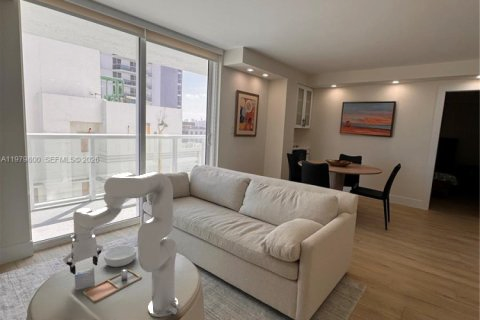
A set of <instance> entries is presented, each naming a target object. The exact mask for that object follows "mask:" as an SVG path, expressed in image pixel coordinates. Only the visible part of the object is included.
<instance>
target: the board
mask: <svg viewBox="0 0 480 320" xmlns="http://www.w3.org/2000/svg"><path fill="white" fill-rule="evenodd" d="M127 278H128V279H127V280H126V281H121V272H120V273H118V274H116V275H114V276H112V277H109V278H108V279H105V280H104V281H101V282H99V283H97V284H95V286H91V287H87V288H85V290H82V294H83V295H84V296H86V298H88V299H89V300H90V301H91V302H92V303H94V304H96V303H98V302H100V301H102V300H104V299H105V298H108V297H109V296H112V295H113V294H115V293H117V292H118V291H121V290H123V289H125V288H126V287H128V286H130V285H133V284H134V283H135V282H138V281H140V280H141V279H142V278H143V277H142V276H141V275H139V274H138V273H136V272H134V271H133V270H131V269H127Z"/></svg>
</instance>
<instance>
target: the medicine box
mask: <svg viewBox="0 0 480 320" xmlns="http://www.w3.org/2000/svg"><path fill="white" fill-rule="evenodd" d="M95 278H96V277H95V268H94V267H89V268H84V269H79V270H76V274H74V286H75V291H77V290H83V289H88V288H90V287H93V286H95V285H96V280H95Z"/></svg>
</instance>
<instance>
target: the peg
mask: <svg viewBox="0 0 480 320" xmlns="http://www.w3.org/2000/svg"><path fill="white" fill-rule="evenodd" d="M127 270H128V269H127V268H123V269H121V271H120V273H121V281H126V280H127V279H128V278H127Z"/></svg>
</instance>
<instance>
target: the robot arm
mask: <svg viewBox="0 0 480 320" xmlns="http://www.w3.org/2000/svg"><path fill="white" fill-rule="evenodd" d="M103 190H104V194H103V201H104V203H105V204H106V206H104V207H103V208H100V209H97V210H95V211H93V210H92V209H91V208H89V207H88V208H85V207H83V208H78V209H76V210H75V211H74V212H73V218H72V219H73V234H72V235H71V236H70V239H71V240H72V241H71V247H70V253H69V254H68V255H66V256H65V257H63V259H62V261H63V262H64V263H65V265H67V266H69V272H70V273H72V275H75V274H76V271H77V270H76V269H77V268H76V264H77V263H79V262H82V261H85V260H87V259H91V258H92V264H93V265H94V266H98V263H99V257H100V254H101V253H102V251H103V248H104V245H99V244H98V243H97V239H96V238H97V237H96V235H95V234H94V230H96V229H98V228H101V227H102V226H104V225H107V224H109V223H111V222H113V221H114V220H115V219H116V218H117V217H118V216H119V215H120V214H121V212H122V210H123V206H124V205H123V204H124V203H125V202H126V201H127V199H141V198H144V197H147V196H149V195H151V194H154V195H153V199H152V201H151V216H150V218H149V219H148V220H146V221H145V222H143V223H142V224H141V225H139V228H138V231H137V255H138V256H137V257H138V265H139V266H140V267H141V269H142V270H143V271H144V272H146V273H151V301H150V303H149V304H148V310H147V311H148V313H149V314H150V315H151V316H152V317H155V318H164V317H167V316H170V315H176V314H177V313H178V309H180V305H179V300H178V299H177V298H176V297H175V293H176V292H175V290H176V283H175V281H176V278H175V277H176V275H175V273H176V272H175V271H176V270H175V269H176V268H175V267H176V257H177V252H178V251H177V248H178V247H177V243H176V241H175V239H173V237H171V236H168V235H170V234H171V233H172V232H173V229H174V209H173V208H174V206H173V203H174V187H173V183H172V182H171V179H170V178H169V177H168V176H167V175H166V174H164V173H162V172H159V171H158V172H157V171H153V172H152V171H151V172H148V173H145V174H141V175H136V174H134V173H132V172H123V173H121V174H115V175H112V176H110V177H108V178H107V179H106V180H105V182H104V186H103ZM70 259H71V260H70ZM69 260H70V261H69Z"/></svg>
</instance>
